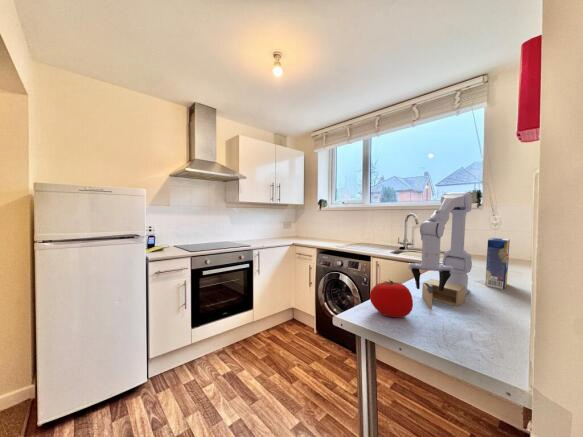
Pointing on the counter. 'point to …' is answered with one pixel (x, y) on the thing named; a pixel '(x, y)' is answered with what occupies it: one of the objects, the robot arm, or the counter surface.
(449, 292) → the carton
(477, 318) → the counter surface
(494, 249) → the beverage box
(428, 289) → the carton flap
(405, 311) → the tomato
